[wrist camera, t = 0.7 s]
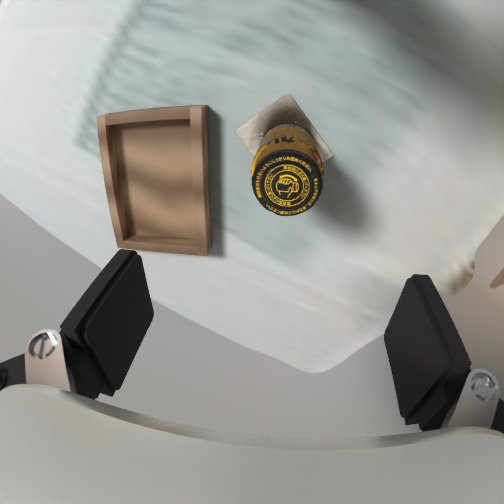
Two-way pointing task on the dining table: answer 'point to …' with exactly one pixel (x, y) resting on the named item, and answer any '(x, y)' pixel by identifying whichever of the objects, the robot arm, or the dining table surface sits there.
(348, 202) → the dining table surface
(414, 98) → the dining table surface
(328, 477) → the robot arm
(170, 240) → the serving tray
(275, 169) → the condiment
